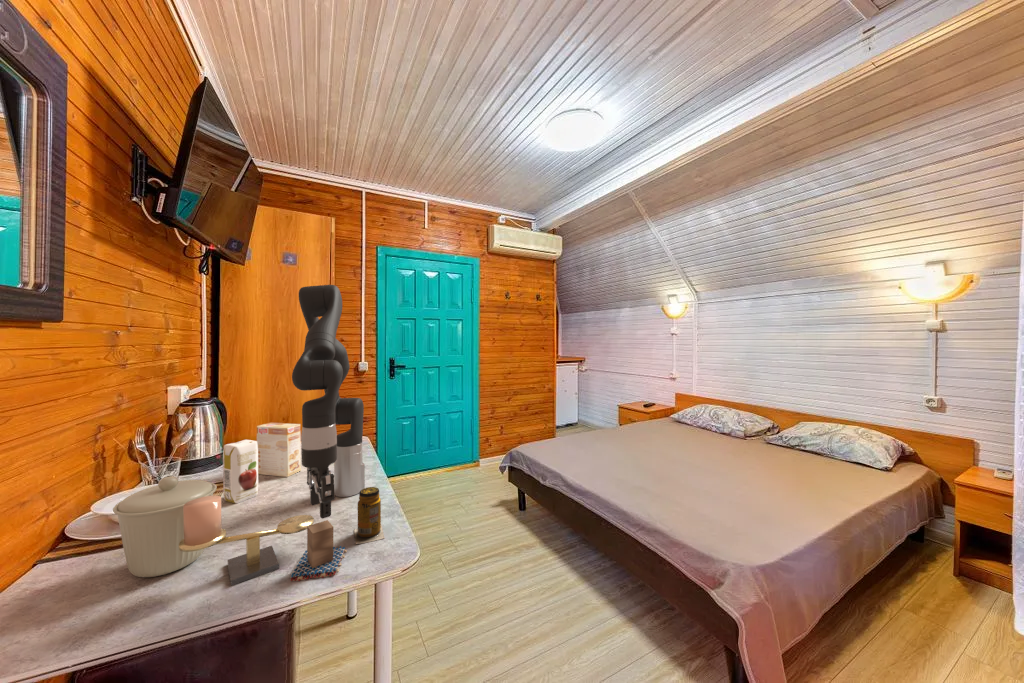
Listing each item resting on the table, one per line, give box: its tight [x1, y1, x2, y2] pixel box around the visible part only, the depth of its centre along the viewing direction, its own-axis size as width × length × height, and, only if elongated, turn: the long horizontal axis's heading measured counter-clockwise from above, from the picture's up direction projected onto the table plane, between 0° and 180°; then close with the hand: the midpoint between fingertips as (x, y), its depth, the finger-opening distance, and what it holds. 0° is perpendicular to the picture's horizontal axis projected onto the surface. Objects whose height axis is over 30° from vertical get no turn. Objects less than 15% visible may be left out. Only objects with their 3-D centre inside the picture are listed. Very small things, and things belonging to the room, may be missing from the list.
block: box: [306, 519, 334, 568], centre depth 87 cm, size 4×4×8 cm
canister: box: [112, 475, 217, 578], centre depth 88 cm, size 18×18×21 cm
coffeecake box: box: [256, 422, 302, 478], centre depth 147 cm, size 15×7×20 cm, turn 77°
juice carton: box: [222, 439, 259, 504], centre depth 124 cm, size 8×9×19 cm
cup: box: [183, 495, 223, 546], centre depth 81 cm, size 6×6×8 cm
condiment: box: [353, 486, 386, 545], centre depth 101 cm, size 7×8×12 cm
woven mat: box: [289, 545, 348, 582], centre depth 87 cm, size 10×11×2 cm
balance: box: [179, 514, 315, 587], centre depth 87 cm, size 26×10×10 cm, turn 132°
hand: (320, 510), depth 87 cm, fingers open, 8 cm apart
